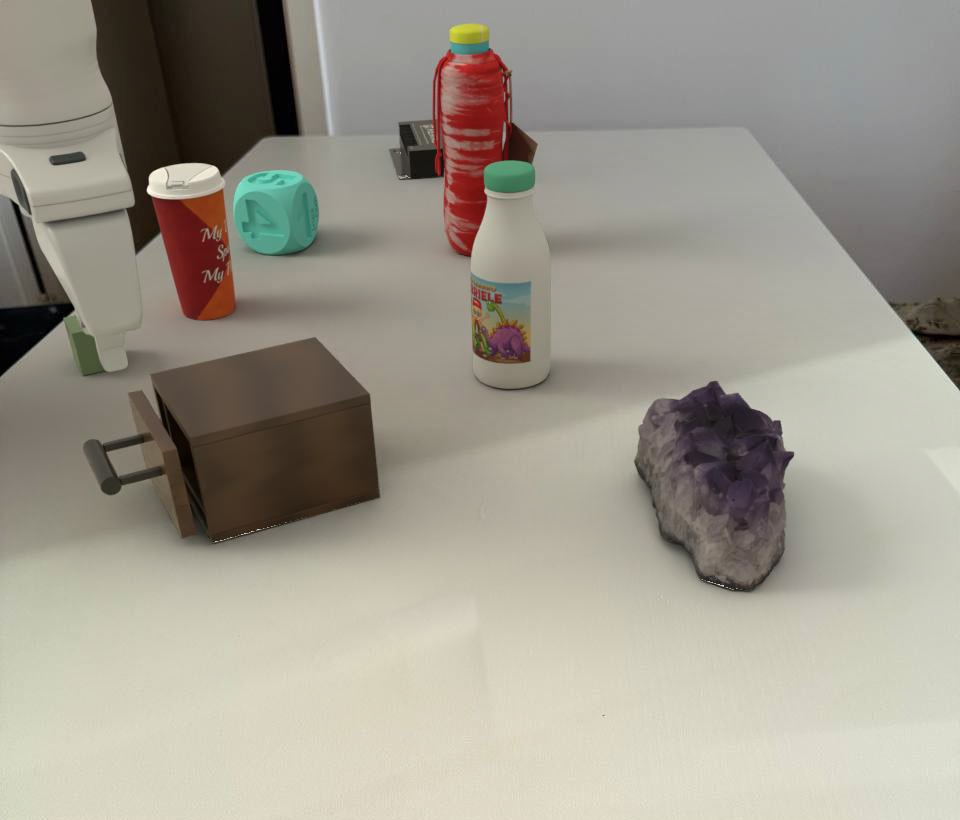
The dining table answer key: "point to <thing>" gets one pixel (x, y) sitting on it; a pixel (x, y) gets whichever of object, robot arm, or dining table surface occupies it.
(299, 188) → the decorative dice
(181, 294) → the coffee cup
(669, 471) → the geode
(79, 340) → the block
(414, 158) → the dark grey box
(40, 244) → the robot arm
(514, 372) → the milk bottle
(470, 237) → the water bottle
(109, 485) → the drawer
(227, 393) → the cabinet
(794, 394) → the dining table surface
